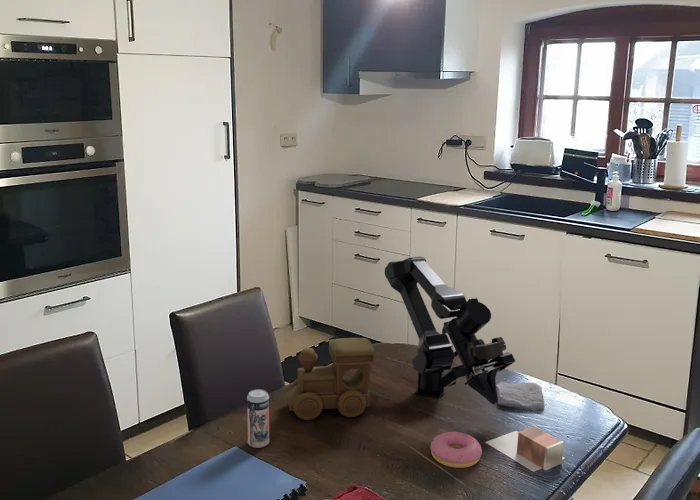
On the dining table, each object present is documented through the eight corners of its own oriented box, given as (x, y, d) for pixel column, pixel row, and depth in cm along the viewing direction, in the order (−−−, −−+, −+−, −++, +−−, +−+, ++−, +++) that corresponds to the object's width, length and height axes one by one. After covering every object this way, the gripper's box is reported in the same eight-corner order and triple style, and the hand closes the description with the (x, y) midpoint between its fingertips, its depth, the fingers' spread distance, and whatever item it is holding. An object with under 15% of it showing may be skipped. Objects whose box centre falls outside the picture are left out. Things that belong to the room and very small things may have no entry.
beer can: (251, 451, 148) (251, 399, 145) (244, 441, 152) (243, 390, 149) (272, 446, 150) (272, 395, 148) (264, 436, 154) (264, 386, 152)
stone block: (546, 419, 170) (540, 394, 179) (548, 403, 168) (541, 378, 177) (497, 417, 171) (493, 393, 180) (498, 402, 169) (494, 377, 178)
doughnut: (491, 459, 147) (493, 442, 146) (458, 478, 140) (459, 459, 139) (452, 439, 155) (453, 422, 154) (419, 455, 148) (419, 438, 147)
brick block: (518, 432, 148) (547, 448, 142) (534, 426, 151) (563, 442, 144) (516, 453, 149) (545, 470, 143) (532, 446, 152) (561, 463, 146)
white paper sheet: (484, 443, 154) (485, 442, 154) (516, 431, 159) (516, 430, 159) (533, 472, 142) (533, 471, 142) (565, 459, 148) (565, 458, 148)
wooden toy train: (365, 397, 175) (367, 335, 171) (374, 418, 164) (376, 353, 160) (286, 401, 171) (286, 338, 168) (290, 423, 161) (290, 356, 157)
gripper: (453, 334, 152) (485, 400, 146) (513, 319, 162) (545, 380, 156) (428, 355, 160) (457, 418, 154) (486, 340, 170) (516, 399, 164)
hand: (495, 403), depth 157 cm, fingers closed
